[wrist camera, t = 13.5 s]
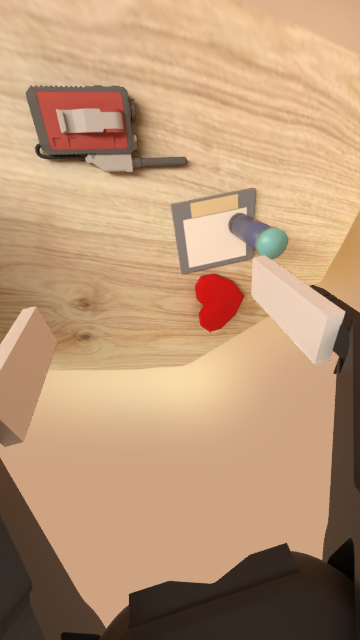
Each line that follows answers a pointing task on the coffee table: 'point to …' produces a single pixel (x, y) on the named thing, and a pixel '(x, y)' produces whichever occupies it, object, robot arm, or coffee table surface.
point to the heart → (217, 301)
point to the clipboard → (211, 230)
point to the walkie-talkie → (89, 126)
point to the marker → (258, 235)
